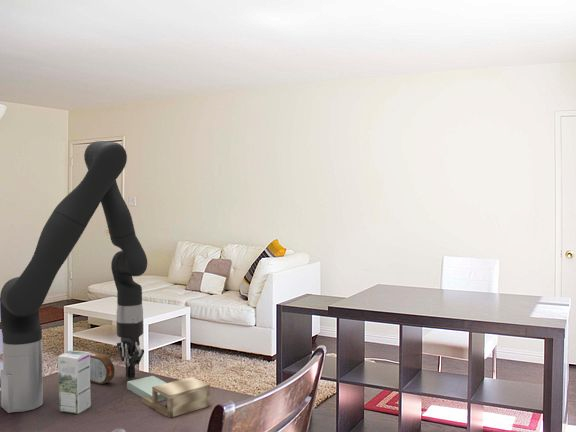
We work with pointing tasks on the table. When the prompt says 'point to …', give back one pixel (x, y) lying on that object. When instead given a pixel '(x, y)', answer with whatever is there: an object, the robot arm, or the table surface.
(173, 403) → the beige forked block
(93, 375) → the tin
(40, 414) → the table surface
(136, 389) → the panel
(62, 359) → the syrup box
